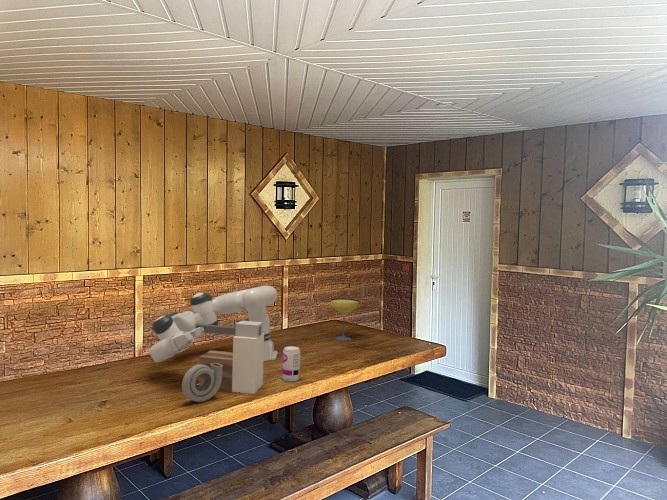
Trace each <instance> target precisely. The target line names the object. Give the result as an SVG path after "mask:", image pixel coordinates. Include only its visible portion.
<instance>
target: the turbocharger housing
mask: <svg viewBox="0 0 667 500" xmlns="http://www.w3.org/2000/svg"><path fill="white" fill-rule="evenodd" d="M210 365H211V369H210V368H209V367H208V366H206V365H202V364H199V363H198V364H195V365H193V366H192V367H190V368H189V369H188V370H187V371H186V373H185V374H184V376H183V378H182V382H181V390H182V392H183V394H184V397H186V398H187V399H189V400H191V401H193V402H195V403H203V402H206V401H208V400H210V399H212V397H214V396H215V394H216V393H217V392H218V389H219V387H220V385H221V381H222V367H223V365H221V364H218V363H211V364H210ZM203 373H204V375H205V380H204V383H203V385H202V386H201V387H199V386H198V387H197V388H196V381H197V379H198V378H199V375H200V374H203Z"/></svg>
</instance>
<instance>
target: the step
mask: <svg viewBox="0 0 667 500" xmlns="http://www.w3.org/2000/svg"><path fill="white" fill-rule="evenodd" d="M211 363H218V364H221V365H223V367H222V381H221V385H220V387H219V389H218V391H221V392H229V393H231V392H232V371H233V351H224V350H223V351H221V350H220V351H219V350H209V351H207V352H206V353H204V354H202V355H200V356H199V357H198V365H199V364H202V365H206V366H208V367H209V368H210V369H211V365H210V364H211ZM204 380H205V375H204V373H203V374H200V375H199V376H198V388H199V387H201V386H202V385H203V383H204ZM218 391H217V392H218ZM232 393H233V392H232Z"/></svg>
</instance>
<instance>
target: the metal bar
mask: <svg viewBox="0 0 667 500" xmlns="http://www.w3.org/2000/svg"><path fill="white" fill-rule="evenodd" d="M202 327H204V328H205V331H203V332H202V333H204V334H216V335H217V334H218V335H228V336H229V335H230V336H232V335H233V336H235V334H236V326H232V325H231V326H229V325H219V324H218V325H205V324H203V325H201V326H200V328H202Z"/></svg>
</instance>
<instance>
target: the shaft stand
mask: <svg viewBox="0 0 667 500" xmlns="http://www.w3.org/2000/svg"><path fill="white" fill-rule="evenodd" d="M235 327H236V334H235V335H234V336H233V339H232V344H233V345H232V352H233V371H232V393H239V392H240V393H241V394H249V395H254V394H255V393H257V392H258V390H260V389H261V387H263V386H264V385H263V384H264V361H263V357H264V333H263V322H252V321H249V320H248V321H247V320H240V321H239V322H236V323H235Z"/></svg>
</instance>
